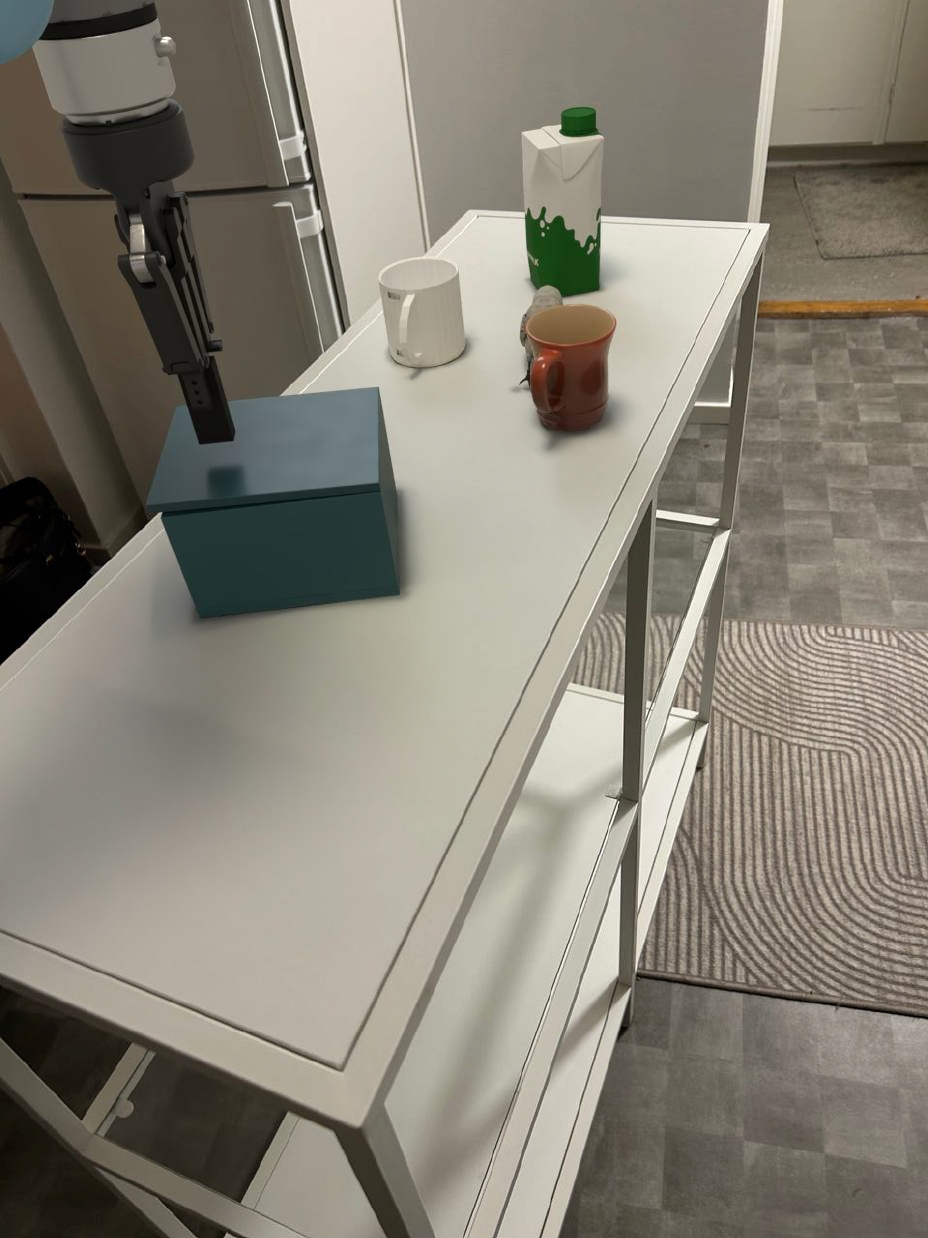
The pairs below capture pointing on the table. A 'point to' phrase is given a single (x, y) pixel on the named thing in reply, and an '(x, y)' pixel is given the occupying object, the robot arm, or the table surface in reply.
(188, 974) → the table surface
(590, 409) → the mug
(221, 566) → the teal box
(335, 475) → the lid
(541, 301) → the decorative bird
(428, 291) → the mug
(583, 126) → the soya milk
